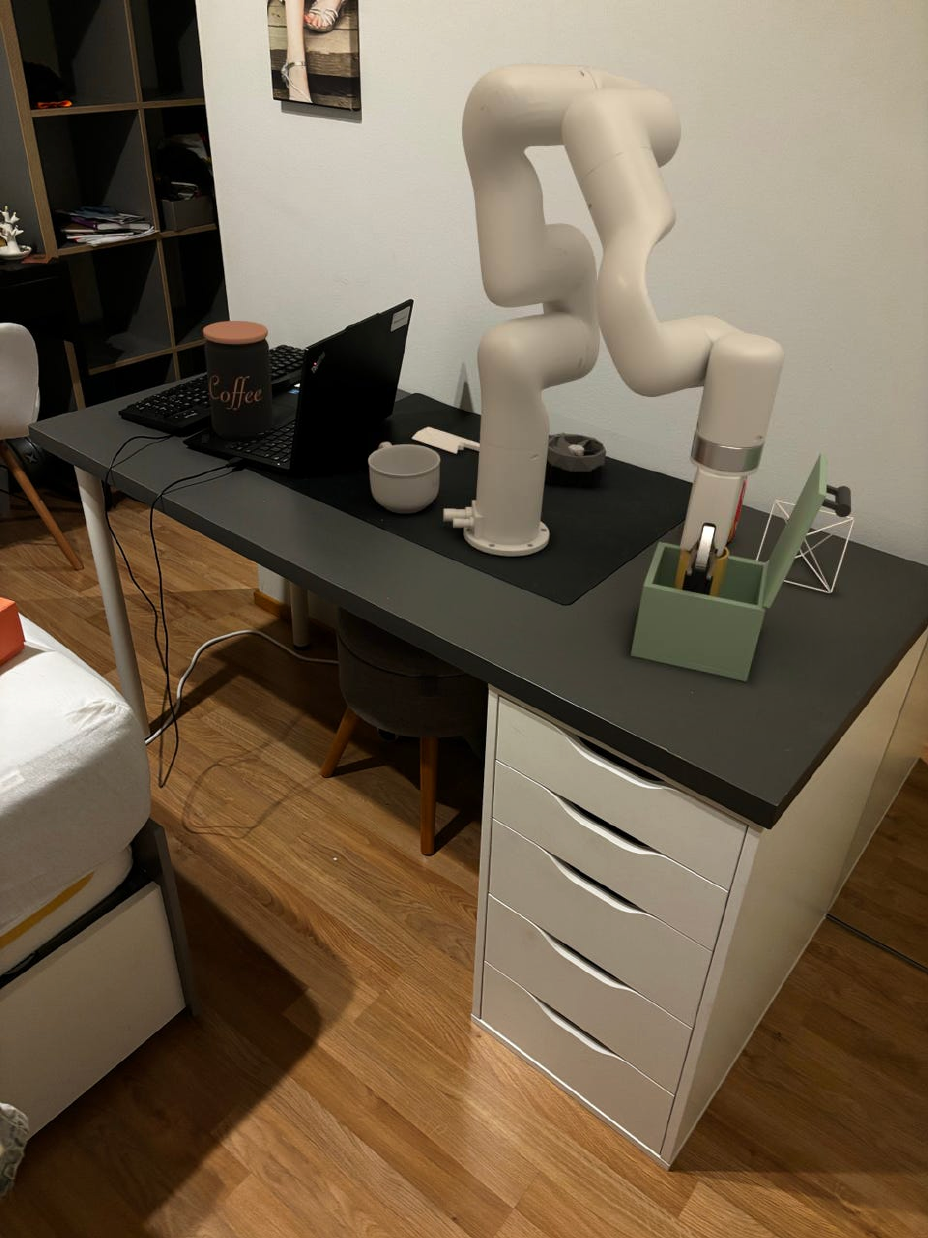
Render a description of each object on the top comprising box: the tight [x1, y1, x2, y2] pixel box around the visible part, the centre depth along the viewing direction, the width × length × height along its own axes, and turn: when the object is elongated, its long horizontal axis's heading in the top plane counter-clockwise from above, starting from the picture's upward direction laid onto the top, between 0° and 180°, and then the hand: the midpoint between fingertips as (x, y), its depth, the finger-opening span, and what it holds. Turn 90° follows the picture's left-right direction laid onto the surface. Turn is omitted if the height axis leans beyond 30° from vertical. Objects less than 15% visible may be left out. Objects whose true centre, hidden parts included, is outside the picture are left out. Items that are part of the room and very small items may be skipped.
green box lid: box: [763, 452, 852, 609], centre depth 106 cm, size 15×12×4 cm
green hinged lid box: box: [630, 541, 769, 682], centre depth 115 cm, size 14×12×10 cm
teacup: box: [367, 441, 441, 514], centre depth 145 cm, size 14×11×8 cm
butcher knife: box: [411, 426, 480, 455], centre depth 166 cm, size 5×15×1 cm, turn 53°
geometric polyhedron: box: [755, 499, 855, 594], centre depth 131 cm, size 12×11×9 cm
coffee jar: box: [202, 320, 275, 442], centre depth 163 cm, size 11×11×18 cm
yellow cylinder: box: [674, 542, 730, 597], centre depth 112 cm, size 5×5×6 cm
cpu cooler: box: [544, 432, 607, 489], centre depth 157 cm, size 10×6×10 cm
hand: (696, 589), depth 114 cm, fingers closed on yellow cylinder, 5 cm apart
